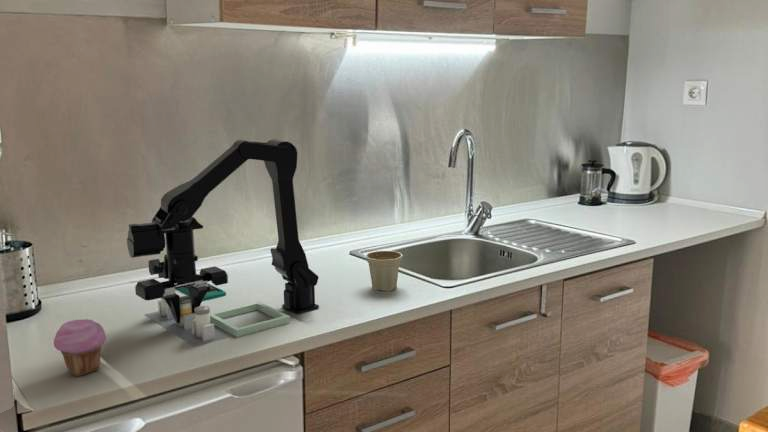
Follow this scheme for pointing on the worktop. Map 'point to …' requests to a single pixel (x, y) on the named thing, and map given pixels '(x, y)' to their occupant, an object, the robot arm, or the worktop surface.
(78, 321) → the cupcake
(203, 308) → the fuse right
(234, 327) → the tray
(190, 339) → the fuse panel
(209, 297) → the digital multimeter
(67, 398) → the worktop surface
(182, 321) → the fuse marked
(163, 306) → the fuse left
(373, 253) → the flower pot
